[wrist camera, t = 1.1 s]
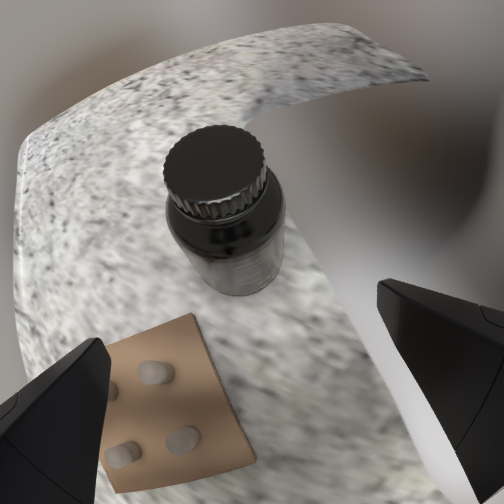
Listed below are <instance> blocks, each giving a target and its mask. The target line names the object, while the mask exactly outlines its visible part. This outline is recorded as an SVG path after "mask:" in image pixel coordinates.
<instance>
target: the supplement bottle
mask: <svg viewBox="0 0 504 504" xmlns="http://www.w3.org/2000/svg"><path fill="white" fill-rule="evenodd" d="M163 166H164V170H163V176H164V183H165V185H166V187H167V190H168V192H169V194H168V197H167V201H166V220H167V225H168V227H169V230H170V232H171V234H172V236H173V238H174V239H175V241H176V242H177V244H178V245H179V246H180V248H181V249H182V251H183V252H184V253H185V255H186V256H187V257H188V259H189V260H190V262H191V263H192V264H193V266H194V267H195V268H196V270H197V271H198V272H199V274H200V275H201V276H202V278H203V279H204V280H205V281H206V282H207V283H208V284H209V285H210V286H211V287H213V288H214V289H216V290H217V291H220V292H222V293H225V294H229V295H247V294H251V293H254V292H256V291H258V290H260V289H262V288H264V287H265V286H266V285H267V284H269V283H270V282H271V281H272V279H273V278H274V277H275V275H276V274H277V272H278V270H279V268H280V265H281V261H282V255H283V243H284V229H285V214H286V200H285V193H284V189H283V187H282V184H281V182H280V180H279V179H278V177H277V175H276V174H275V173H274V172H273V171H272V170H271V169H270V168H269V167H268V166H267V165H266V159H265V153H264V150H263V149H262V146H261V143H260V142H258V141H257V139H256V137H255V136H252V135H251V134H250V132H247V131H244V130H243V129H242V128H236V127H235V126H227V125H214V126H206V127H204V128H201V129H197V130H195V131H194V132H190V133H189V134H188V135H186V136H184V137H182V138H181V139H180V141H178V142H177V143H175V145H174V147H173V148H172V149H170V151H169V154H168V155H167V156H166V161H165V163H164V165H163Z"/></svg>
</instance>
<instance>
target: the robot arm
mask: <svg viewBox="0 0 504 504" xmlns="http://www.w3.org/2000/svg"><path fill="white" fill-rule="evenodd" d="M377 308H378V311H379V313H380V315H381V317H382V319H383V321H384V323H385V325H386V328H387V330H388V332H389V334H390V336H391V338H392V340H393V342H394V344H395V346H396V348H397V350H398V352H399V353H400V355H401V356H402V358H403V360H404V361H405V363H406V364H407V366H408V368H409V370H410V371H411V373H412V375H413V376H414V378H415V380H416V381H417V383H418V385H419V387H420V388H421V390H422V392H423V393H424V395H425V397H426V399H427V401H428V402H429V404H430V406H431V408H432V409H433V411H434V413H435V415H436V417H437V419H438V420H439V422H440V424H441V426H442V428H443V430H444V431H445V433H446V435H447V437H448V439H449V441H450V443H451V445H452V447H453V449H454V450H455V453H456V455H457V457H458V459H459V461H460V463H461V465H462V467H463V469H464V471H465V474H466V476H467V478H468V480H469V482H470V484H471V486H472V488H473V491H474V493H475V495H476V497H477V500H478V501H479V503H480V504H483V503H484V502H486V501H487V500H489V499H490V498H491V497H493V496H494V495H496V494H497V493H498V492H500V491H501V490H502V489H504V312H503V311H500V310H496V309H493V308H489V307H486V306H483V305H480V306H479V305H478V304H476V303H472V302H469V301H466V300H462V299H459V298H455V297H452V296H449V295H445V294H442V293H438V292H435V291H432V290H429V289H425V288H422V287H418V286H415V285H412V284H408V283H405V282H401V281H398V280H394V279H391V278H389V279H385V280H381V281H379V282H378V285H377ZM111 364H112V362H111V357H110V355H109V353H108V351H107V349H106V347H105V346H104V344H103V342H102V340H101V339H100V338H98V337H95V338H89V339H87V340H85V341H84V342H83V343H81V344H80V345H79V346H77V347H76V348H75V349H73V350H72V351H71V352H69V353H68V354H67V355H65V356H64V357H63V358H61V359H60V360H59V361H57V362H56V363H55V364H53V365H52V366H51V367H49V368H48V369H47V370H45V371H44V372H43V373H42V374H40V375H39V376H38V377H36V378H35V379H34V380H32V381H31V382H30V383H28V384H27V385H26V386H25V387H23V388H22V389H21V390H19V392H17V393H15V395H13V396H12V397H10V398H9V399H8V400H6V401H5V402H4V403H2V404H1V405H0V504H94V498H95V487H96V477H97V468H98V460H99V452H100V445H101V438H102V432H103V426H104V420H105V414H106V409H107V403H108V395H109V383H110V373H111Z"/></svg>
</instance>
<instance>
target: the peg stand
mask: <svg viewBox="0 0 504 504" xmlns="http://www.w3.org/2000/svg"><path fill="white" fill-rule="evenodd" d="M105 347H106V349H107V351H108V353H109V355H110V357H111V362H112V364H111V373H110V383H109V395H108V403H107V409H106V414H105V420H104V426H103V432H102V438H101V445H100V452H99V459H100V461H101V463H102V466H103V468H104V470H105V472H106V474H107V476H108V479H109V481H110V483H111V485H112V487H113V489H114V491H115V493H116V494H117V493H126V492H135V491H142V490H148V489H155V488H160V487H166V486H171V485H176V484H181V483H185V482H190V481H194V480H198V479H202V478H206V477H210V476H214V475H217V474H221V473H224V472H228V471H231V470H234V469H238V468H241V467H244V466H247V465H250V464H253V463H256V457H255V455H254V453H253V451H252V449H251V447H250V445H249V443H248V441H247V439H246V436H245V434H244V432H243V430H242V428H241V426H240V424H239V422H238V419H237V417H236V415H235V413H234V411H233V408H232V406H231V404H230V402H229V399H228V397H227V395H226V392H225V390H224V388H223V386H222V383H221V381H220V378H219V376H218V374H217V371H216V369H215V367H214V364H213V362H212V359H211V357H210V354H209V352H208V349H207V347H206V344H205V342H204V339H203V337H202V334H201V331H200V329H199V326H198V324H197V321H196V318H195V316H194V315H193V314H192V313H189V314H186V315H184V316H182V317H179V318H177V319H174V320H172V321H169V322H167V323H164V324H162V325H159V326H157V327H154V328H152V329H149V330H147V331H144V332H141V333H139V334H136V335H134V336H131V337H129V338H126V339H123V340H121V341H118V342H116V343H113V344H110V345H108V346H105Z"/></svg>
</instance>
